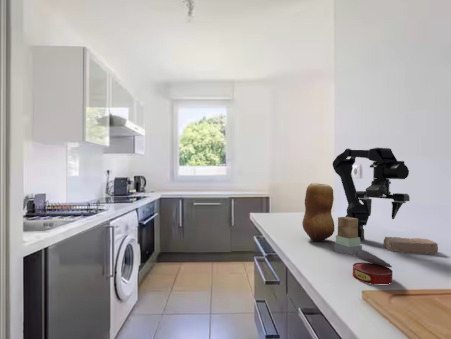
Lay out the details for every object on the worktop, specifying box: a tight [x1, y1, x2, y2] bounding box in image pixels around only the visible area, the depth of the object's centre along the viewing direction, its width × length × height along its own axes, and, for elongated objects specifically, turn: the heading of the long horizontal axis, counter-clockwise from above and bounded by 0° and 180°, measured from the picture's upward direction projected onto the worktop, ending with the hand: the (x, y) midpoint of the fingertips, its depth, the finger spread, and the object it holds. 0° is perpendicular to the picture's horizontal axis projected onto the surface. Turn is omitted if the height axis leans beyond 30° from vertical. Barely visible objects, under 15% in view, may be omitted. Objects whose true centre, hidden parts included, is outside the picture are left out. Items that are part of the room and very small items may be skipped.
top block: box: [335, 234, 361, 247], centre depth 106 cm, size 6×6×3 cm
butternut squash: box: [301, 182, 335, 242], centre depth 123 cm, size 14×13×25 cm
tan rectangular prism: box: [337, 216, 358, 239], centre depth 106 cm, size 5×5×7 cm
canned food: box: [352, 248, 393, 285], centre depth 79 cm, size 11×10×10 cm
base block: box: [333, 243, 363, 256], centre depth 106 cm, size 7×7×3 cm
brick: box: [383, 236, 439, 255], centre depth 110 cm, size 17×8×5 cm, turn 76°
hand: (380, 217), depth 113 cm, fingers open, 9 cm apart
